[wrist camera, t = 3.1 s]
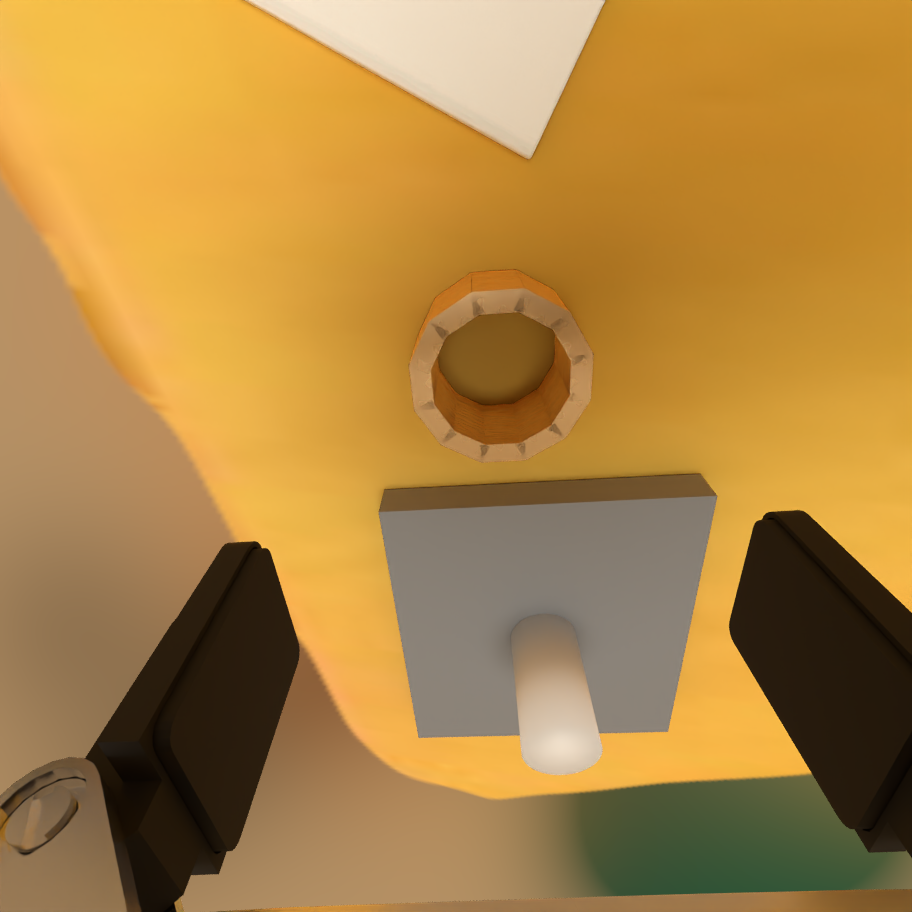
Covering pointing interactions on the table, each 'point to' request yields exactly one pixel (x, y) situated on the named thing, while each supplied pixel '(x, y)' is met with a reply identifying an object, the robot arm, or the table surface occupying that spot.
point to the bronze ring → (505, 425)
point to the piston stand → (546, 607)
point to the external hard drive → (459, 53)
